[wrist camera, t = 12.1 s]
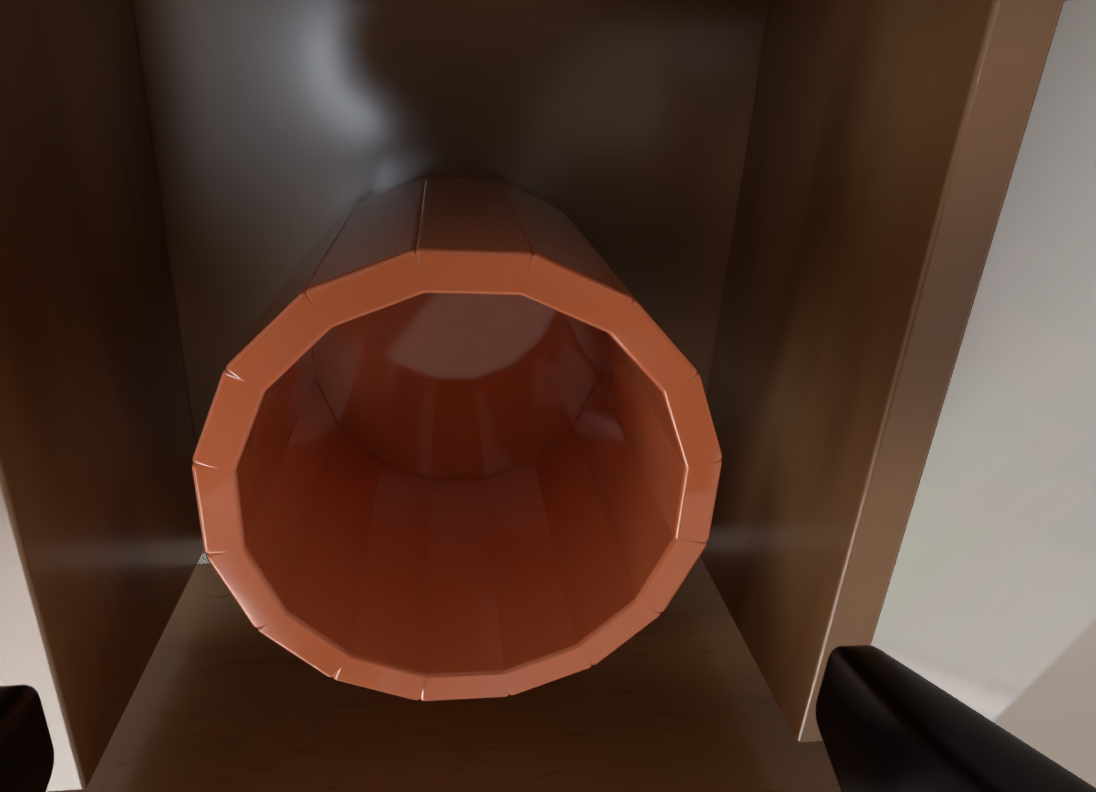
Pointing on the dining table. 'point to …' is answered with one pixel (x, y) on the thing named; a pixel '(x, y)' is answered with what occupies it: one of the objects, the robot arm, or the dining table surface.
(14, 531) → the drawer
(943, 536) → the dining table surface
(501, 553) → the cup
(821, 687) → the robot arm
